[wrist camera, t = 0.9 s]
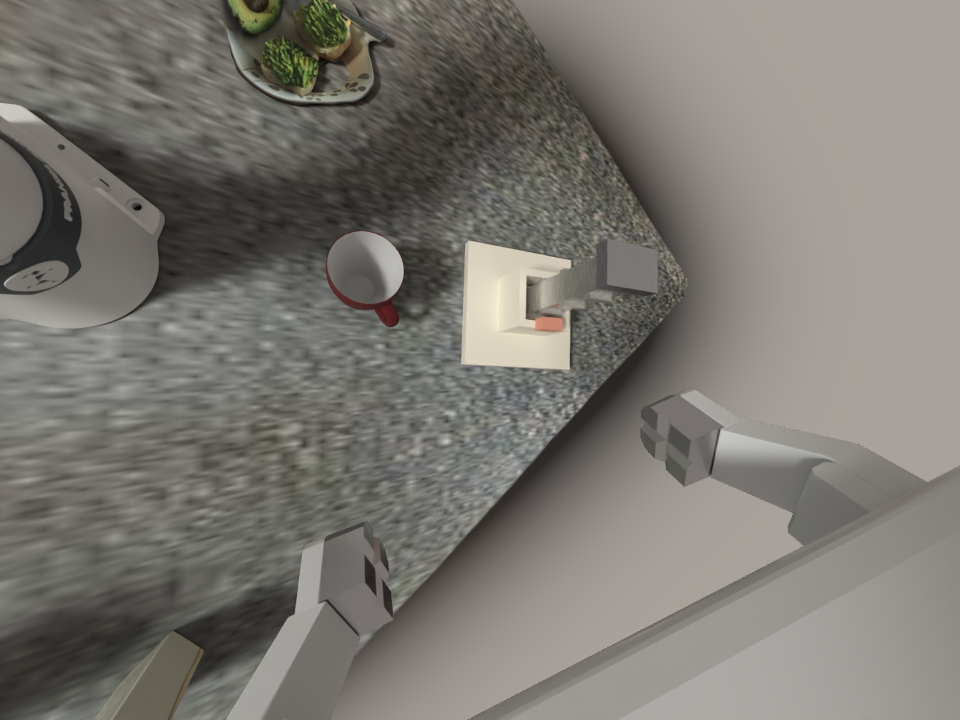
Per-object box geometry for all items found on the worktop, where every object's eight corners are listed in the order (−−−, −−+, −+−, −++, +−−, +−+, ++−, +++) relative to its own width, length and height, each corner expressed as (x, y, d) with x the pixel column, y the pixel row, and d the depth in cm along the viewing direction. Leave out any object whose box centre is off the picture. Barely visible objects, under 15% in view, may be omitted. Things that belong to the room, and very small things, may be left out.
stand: (461, 364, 52) (489, 361, 43) (465, 244, 54) (493, 216, 44) (564, 369, 59) (607, 368, 50) (565, 263, 60) (607, 242, 51)
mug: (415, 307, 50) (434, 291, 41) (371, 346, 48) (381, 338, 38) (361, 247, 48) (369, 215, 39) (312, 284, 45) (307, 259, 36)
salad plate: (372, -12, 51) (375, -48, 46) (400, 115, 51) (406, 91, 47) (208, -42, 43) (195, -88, 39) (244, 107, 44) (235, 78, 39)
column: (498, 322, 55) (607, 285, 33) (499, 293, 55) (607, 237, 34) (534, 326, 57) (657, 294, 36) (535, 298, 58) (657, 249, 36)
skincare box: (155, 704, 37) (79, 843, 26) (116, 683, 36) (21, 819, 25) (207, 647, 39) (158, 754, 28) (172, 626, 38) (107, 727, 27)
